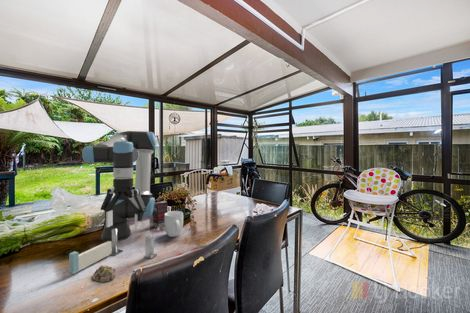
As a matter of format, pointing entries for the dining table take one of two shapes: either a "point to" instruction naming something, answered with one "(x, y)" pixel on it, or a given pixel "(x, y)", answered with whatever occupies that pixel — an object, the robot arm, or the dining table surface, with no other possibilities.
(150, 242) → the latch post
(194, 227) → the dining table surface
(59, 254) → the dining table surface
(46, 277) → the dining table surface
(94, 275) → the mineral rock
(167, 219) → the mug
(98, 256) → the gate
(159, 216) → the supplement box
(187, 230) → the dining table surface
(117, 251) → the hinge post
